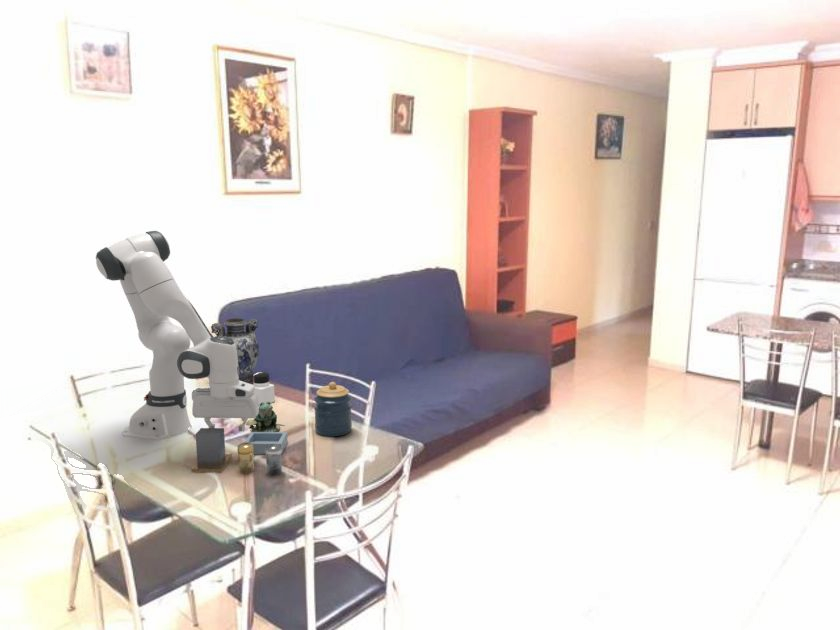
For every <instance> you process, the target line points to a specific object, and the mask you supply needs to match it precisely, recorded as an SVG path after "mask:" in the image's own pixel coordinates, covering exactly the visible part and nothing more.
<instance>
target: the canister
mask: <svg viewBox="0 0 840 630" xmlns="http://www.w3.org/2000/svg"><path fill="white" fill-rule="evenodd" d="M315 393H316V396H314V398H313V400H314V402H315V405H314V407H313V409H314V430H315V433H317V434H318V435H320V436H324V437H338V436H343V435H346V434H349V433H350V432H351V430H352V426H353V423H352V404H351V400H352V396H351V395H350V394H349V393H350V390H349V389H348V388H346V387H345V386H344V385H339V384H337V383H336V382H335V381H331V382H329V383H328V385H324V386H322V387H320V388H319V389H317V390H316V392H315Z"/></svg>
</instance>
